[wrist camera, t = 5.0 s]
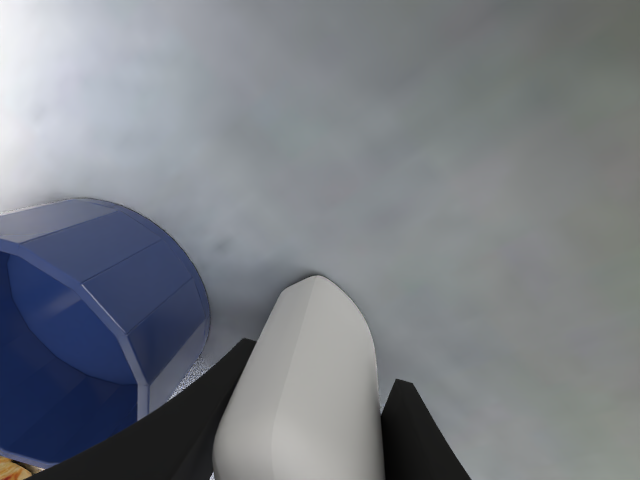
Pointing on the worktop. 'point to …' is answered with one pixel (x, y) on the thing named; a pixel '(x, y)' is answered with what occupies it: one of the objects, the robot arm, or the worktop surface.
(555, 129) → the worktop surface
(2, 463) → the croissant
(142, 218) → the blue bowl
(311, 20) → the worktop surface
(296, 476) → the eye dropper bottle
